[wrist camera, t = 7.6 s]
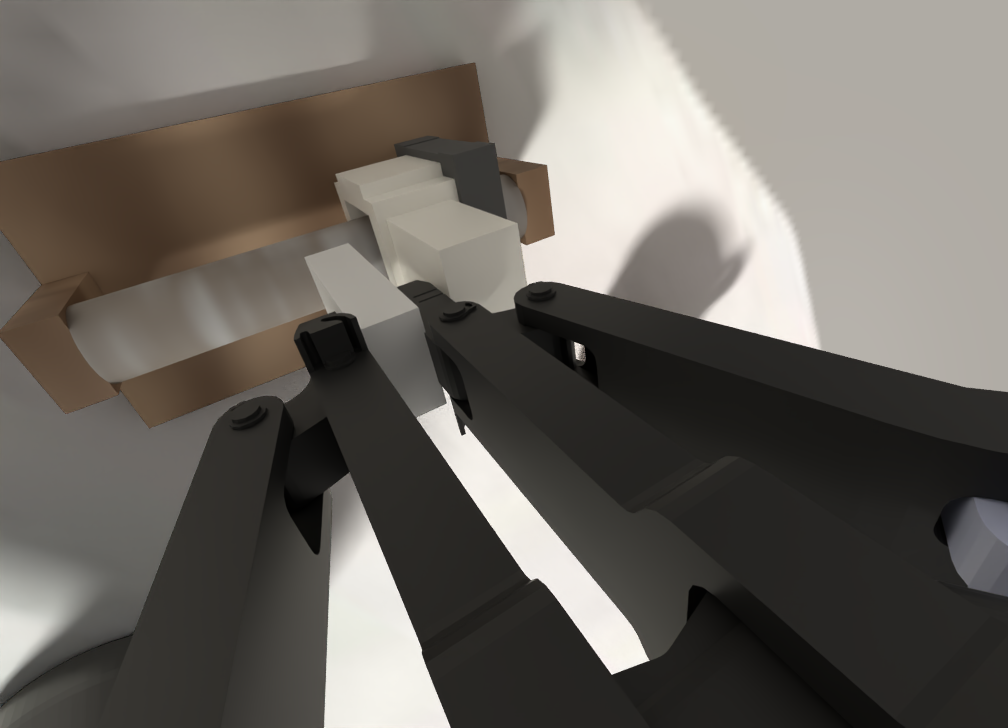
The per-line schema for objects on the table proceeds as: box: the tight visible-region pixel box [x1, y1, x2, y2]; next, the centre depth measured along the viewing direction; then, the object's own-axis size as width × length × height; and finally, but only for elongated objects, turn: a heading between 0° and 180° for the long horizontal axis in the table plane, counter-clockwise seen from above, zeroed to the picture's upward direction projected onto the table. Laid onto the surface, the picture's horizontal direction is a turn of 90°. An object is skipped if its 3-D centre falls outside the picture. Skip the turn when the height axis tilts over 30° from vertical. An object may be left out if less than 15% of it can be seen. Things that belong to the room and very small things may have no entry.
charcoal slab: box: [394, 136, 507, 219], centre depth 20 cm, size 2×6×6 cm, turn 10°
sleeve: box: [334, 155, 527, 313], centre depth 18 cm, size 3×6×10 cm, turn 10°
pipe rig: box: [0, 63, 555, 428], centre depth 20 cm, size 19×11×6 cm, turn 100°
